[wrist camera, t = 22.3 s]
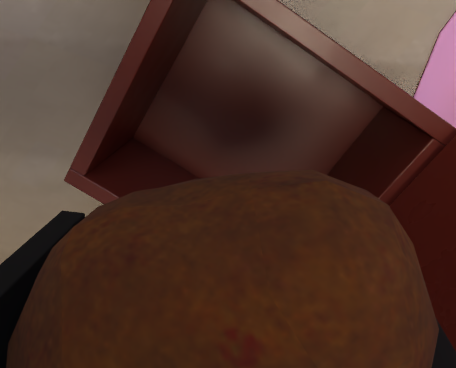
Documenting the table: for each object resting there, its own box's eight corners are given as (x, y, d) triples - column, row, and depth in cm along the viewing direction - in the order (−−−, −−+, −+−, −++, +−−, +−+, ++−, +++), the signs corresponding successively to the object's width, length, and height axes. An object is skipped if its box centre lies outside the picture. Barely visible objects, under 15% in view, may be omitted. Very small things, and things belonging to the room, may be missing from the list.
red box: (121, 137, 32) (62, 180, 23) (211, -34, 26) (182, -69, 17) (284, 237, 34) (290, 314, 25) (398, 99, 28) (462, 132, 19)
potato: (436, 261, 12) (676, 589, 5) (193, 394, 15) (131, 695, 8) (269, 45, 10) (273, 83, 3) (33, 254, 13) (-220, 497, 6)
